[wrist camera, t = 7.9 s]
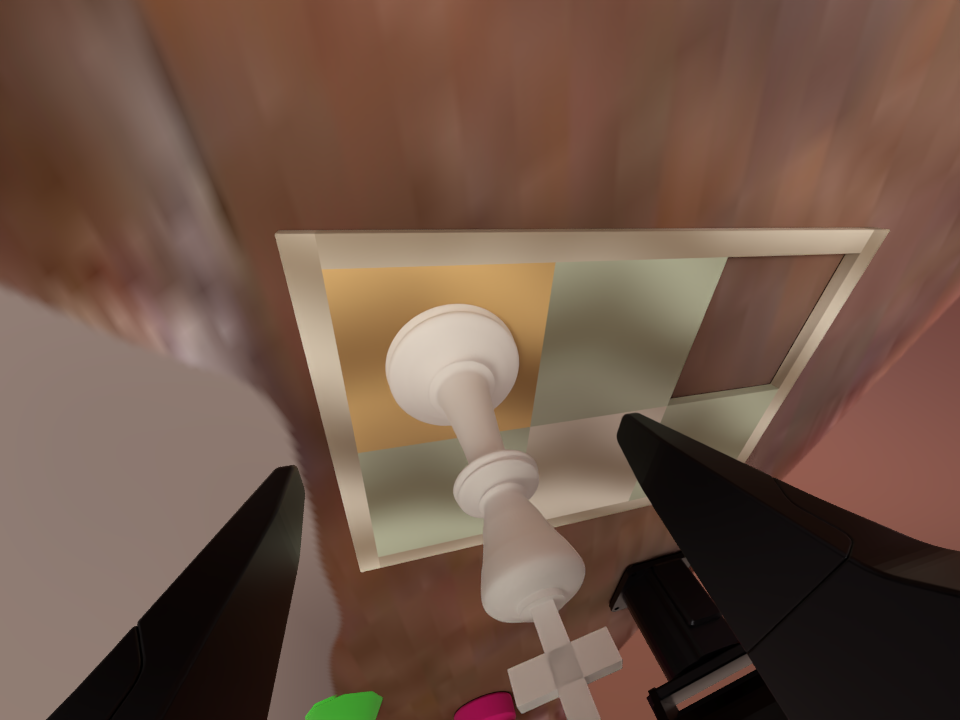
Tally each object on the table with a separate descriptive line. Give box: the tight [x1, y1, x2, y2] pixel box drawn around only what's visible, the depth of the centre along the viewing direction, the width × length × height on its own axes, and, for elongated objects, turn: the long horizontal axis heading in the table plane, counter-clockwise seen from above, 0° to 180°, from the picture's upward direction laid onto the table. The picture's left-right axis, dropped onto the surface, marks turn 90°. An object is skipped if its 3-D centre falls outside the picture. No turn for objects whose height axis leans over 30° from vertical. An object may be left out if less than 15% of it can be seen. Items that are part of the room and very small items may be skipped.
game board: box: [275, 228, 890, 572], centre depth 17 cm, size 17×24×1 cm
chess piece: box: [385, 304, 623, 720], centre depth 9 cm, size 5×5×10 cm
